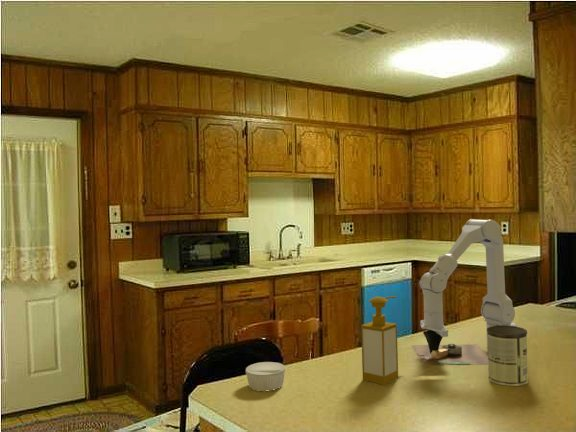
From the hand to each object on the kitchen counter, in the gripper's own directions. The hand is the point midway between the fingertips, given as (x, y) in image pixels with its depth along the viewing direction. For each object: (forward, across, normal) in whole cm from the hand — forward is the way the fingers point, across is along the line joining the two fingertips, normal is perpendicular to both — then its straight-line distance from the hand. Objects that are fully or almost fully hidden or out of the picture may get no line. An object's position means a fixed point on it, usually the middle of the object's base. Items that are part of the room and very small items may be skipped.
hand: (434, 354), depth 169 cm
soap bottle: (+2, +10, -20) cm, 23 cm away
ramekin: (+2, +7, -55) cm, 55 cm away
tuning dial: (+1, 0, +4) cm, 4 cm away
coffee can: (+2, +23, +10) cm, 25 cm away
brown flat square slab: (+2, -1, +7) cm, 7 cm away
